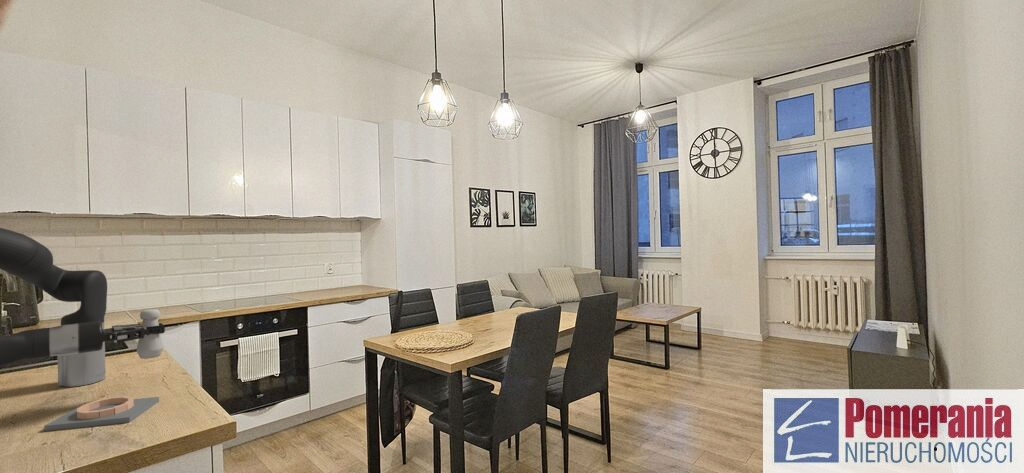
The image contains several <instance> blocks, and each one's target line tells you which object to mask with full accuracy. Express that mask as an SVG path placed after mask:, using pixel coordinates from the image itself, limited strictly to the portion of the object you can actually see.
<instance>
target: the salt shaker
mask: <svg viewBox="0 0 1024 473" xmlns="http://www.w3.org/2000/svg"><path fill="white" fill-rule="evenodd" d="M139 314H140V315H139V317H140V319H141V320H142V322H141V324H142V327H151V326H158V325H159V319H158V318H160V316H161V312H160V310H159V309H157V308H149V309H144V310H141V311H140V313H139ZM163 350H164V343H163V338H162V333H161V334H149V335H147V336H145V337H144V338H141V339H138V342H137V347H136V353H137V355H138V357H139V358H140V360H141V359H142V360H143V359H144V360H149V359H155V358H158V357H161V355H162V352H163Z"/></svg>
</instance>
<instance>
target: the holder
mask: <svg viewBox="0 0 1024 473" xmlns="http://www.w3.org/2000/svg"><path fill="white" fill-rule="evenodd" d="M159 402H160V397H159V396H154V397H153V396H151V397H144V398H134V397H133V396H128V395H122V396H110V397H107V398H101V399H98V400H97V399H96V400H94V401H90V402H88V403H84V404H81V405H80V406H77V407H76V408H74V409H72V410H71V411H68V412H67V413H65V414H63V415H61V416H60V417H58V418H56V419H55V420H52V421H51V422H50V421H49V423H47V424H45V425H44V426H43V427H44V428H43V429H44V432H50V431H59V430H61V431H62V430H67V429H77V428H78V429H79V428H88V427H97V426H108V425H119V424H126V423H128V424H129V423H131V422H132V421H133V420H135V419H137V418H138V417H139V416H140V415H142V414H143V413H145V412H146V411H148V410H149V409H151V408H152V407H154V406H155V405H156V404H158V403H159Z"/></svg>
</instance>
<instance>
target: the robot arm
mask: <svg viewBox="0 0 1024 473" xmlns="http://www.w3.org/2000/svg"><path fill="white" fill-rule="evenodd" d="M0 270H1V271H4V272H6V273H8V274H10V275H13V276H15V277H17V278H19V279H21V280H22V281H25V282H27V283H29V284H31V285H34V286H35V287H37V288H39V289H40V290H41V291H43V292H45V293H46V294H48V295H49V296H51V297H52V298H54V299H55V300H57V301H60V302H65V303H66V302H67V303H76V302H78V303H79V302H80V306H79V308H78V309H77V310H76V311H74V312H72V313H69V314H65V315H64V316H62V317H61V318H60V325H57V326H51V327H43V328H42V327H41V328H32V329H26V330H21V331H19V332H16V333H15V334H12V335H7V336H5V335H4V336H0V366H5V365H8V364H9V365H10V364H13V363H17V362H20V361H23V360H26V361H27V360H34V359H41V358H47V357H57V386H58V387H68V388H69V387H79V386H86V385H91V384H94V383H98V382H102V381H103V380H105V379H106V377H107V376H106V343H105V342H112V343H113V344H115V343H119V344H121V343H124V342H130V341H134V340H139V339H141V338H144V337H145V336H147V335H149V334H161V335H162V334H165V332H166V330H165V329H166V327H165V325H164V323H161V322H160V323H159V322H158V323H159V325H158V326H151V327H142V323H134V324H133V323H129V324H116V325H112V326H111V327H109V328H105V316H106V311H107V303H108V302H107V300H108V299H107V298H108V297H107V296H108V281H107V280H108V279H107V278H106V275H105V274H104V272H102V271H100V270H96V269H95V270H94V269H93V270H92V269H91V270H89V269H88V270H87V269H86V270H68V269H63V268H61V267H58V266H57V265H55V264H54V256H53V253H52V252H51V250H50V249H49V248H48V247H47V246H45V245H44V244H42V243H40V242H38V241H37V240H35V239H33V238H32V237H30V236H28V235H26V234H23V233H19V232H16V231H14V230H10V229H7V228H3V227H0Z"/></svg>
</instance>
